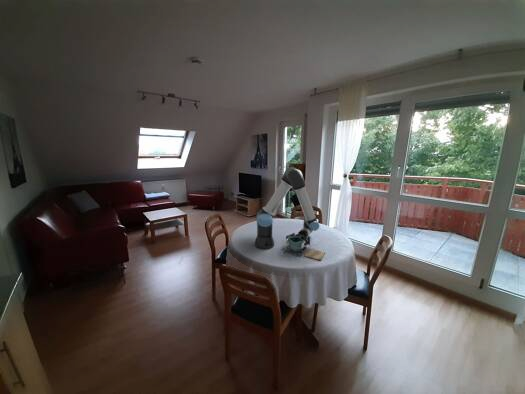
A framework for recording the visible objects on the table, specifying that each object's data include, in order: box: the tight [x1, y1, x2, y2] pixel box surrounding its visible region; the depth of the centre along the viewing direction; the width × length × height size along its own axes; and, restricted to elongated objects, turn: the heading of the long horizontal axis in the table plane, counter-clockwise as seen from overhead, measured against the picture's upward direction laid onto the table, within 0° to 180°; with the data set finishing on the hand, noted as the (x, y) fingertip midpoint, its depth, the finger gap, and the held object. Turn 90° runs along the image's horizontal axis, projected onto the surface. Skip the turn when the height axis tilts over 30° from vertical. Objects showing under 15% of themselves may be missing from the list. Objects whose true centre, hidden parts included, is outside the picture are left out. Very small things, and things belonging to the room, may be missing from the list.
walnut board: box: [303, 247, 326, 262], centre depth 149 cm, size 12×12×1 cm
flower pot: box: [287, 236, 304, 253], centre depth 153 cm, size 9×9×9 cm
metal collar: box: [283, 244, 308, 258], centre depth 154 cm, size 13×13×2 cm
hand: (293, 244), depth 150 cm, fingers closed on flower pot, 11 cm apart
